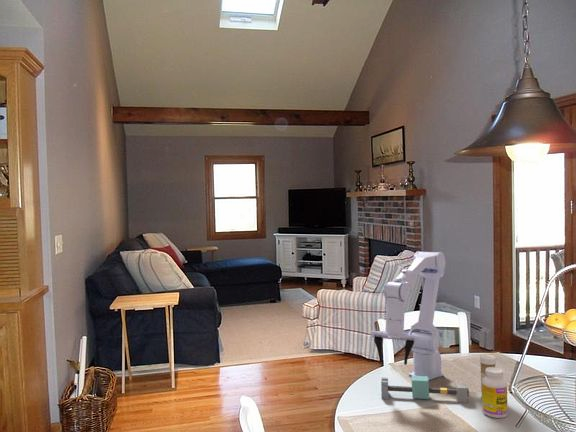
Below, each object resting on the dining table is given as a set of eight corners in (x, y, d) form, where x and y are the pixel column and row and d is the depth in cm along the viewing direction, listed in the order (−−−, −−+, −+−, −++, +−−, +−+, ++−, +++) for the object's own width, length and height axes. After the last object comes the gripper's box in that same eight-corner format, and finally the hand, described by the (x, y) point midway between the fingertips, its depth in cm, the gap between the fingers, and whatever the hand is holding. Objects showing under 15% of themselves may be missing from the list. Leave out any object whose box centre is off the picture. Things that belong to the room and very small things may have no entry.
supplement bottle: (497, 421, 132) (495, 375, 131) (477, 412, 138) (476, 368, 137) (512, 415, 135) (511, 370, 134) (493, 406, 141) (492, 364, 140)
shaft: (386, 391, 151) (386, 386, 150) (386, 389, 152) (386, 385, 152) (462, 395, 145) (462, 390, 145) (462, 393, 147) (461, 388, 147)
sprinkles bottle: (500, 400, 145) (499, 356, 144) (490, 403, 143) (488, 359, 142) (487, 394, 149) (486, 352, 148) (477, 398, 147) (476, 355, 146)
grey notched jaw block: (381, 398, 149) (381, 382, 149) (382, 392, 154) (381, 376, 154) (388, 399, 149) (387, 382, 149) (388, 392, 154) (387, 376, 153)
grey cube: (457, 402, 145) (456, 387, 144) (456, 397, 148) (455, 383, 148) (469, 402, 144) (469, 388, 144) (467, 397, 147) (467, 383, 147)
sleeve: (412, 398, 147) (411, 380, 147) (412, 392, 151) (411, 375, 151) (429, 398, 146) (428, 381, 146) (428, 393, 150) (427, 376, 150)
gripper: (370, 318, 150) (368, 362, 149) (417, 323, 146) (416, 368, 144) (373, 316, 157) (371, 357, 156) (418, 320, 152) (416, 363, 151)
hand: (393, 362), depth 150 cm, fingers open, 7 cm apart
